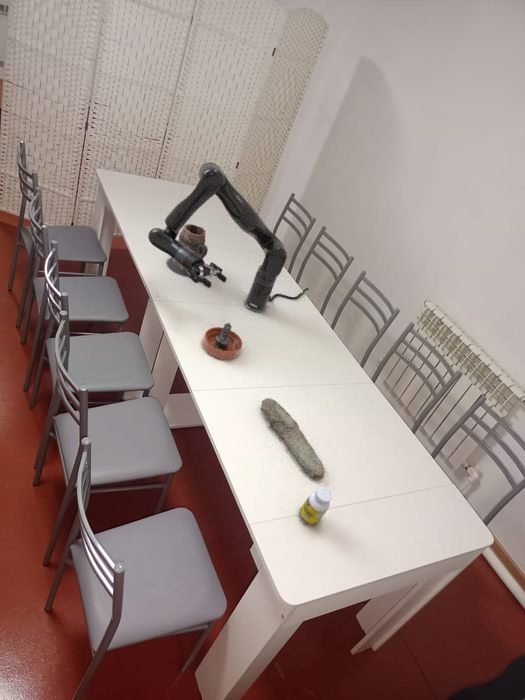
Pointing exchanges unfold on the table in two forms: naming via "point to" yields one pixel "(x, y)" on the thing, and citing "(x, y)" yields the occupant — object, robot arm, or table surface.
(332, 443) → the table surface
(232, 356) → the bowl
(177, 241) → the robot arm
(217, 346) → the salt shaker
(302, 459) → the long grey stone
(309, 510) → the pill bottle
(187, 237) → the tankard
